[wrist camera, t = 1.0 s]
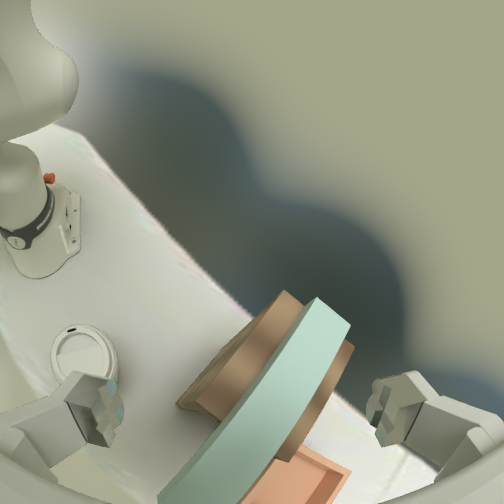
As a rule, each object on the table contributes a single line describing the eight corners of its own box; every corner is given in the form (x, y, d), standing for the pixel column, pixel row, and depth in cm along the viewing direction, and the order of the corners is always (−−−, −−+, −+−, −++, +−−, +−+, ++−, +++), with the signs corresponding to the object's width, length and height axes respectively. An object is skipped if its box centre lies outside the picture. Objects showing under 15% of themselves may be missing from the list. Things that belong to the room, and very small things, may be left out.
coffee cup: (128, 348, 43) (117, 324, 31) (128, 402, 38) (115, 400, 26) (77, 342, 40) (50, 315, 28) (75, 395, 35) (43, 388, 23)
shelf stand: (222, 438, 40) (288, 462, 19) (175, 403, 41) (195, 401, 20) (266, 379, 48) (354, 347, 27) (224, 346, 49) (283, 289, 28)
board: (203, 522, 14) (209, 533, 12) (157, 495, 15) (157, 505, 13) (336, 332, 28) (350, 325, 26) (304, 306, 28) (316, 297, 26)
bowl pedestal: (211, 480, 35) (236, 508, 23) (251, 431, 42) (290, 437, 30) (266, 509, 34) (307, 536, 21) (301, 461, 41) (351, 471, 29)
